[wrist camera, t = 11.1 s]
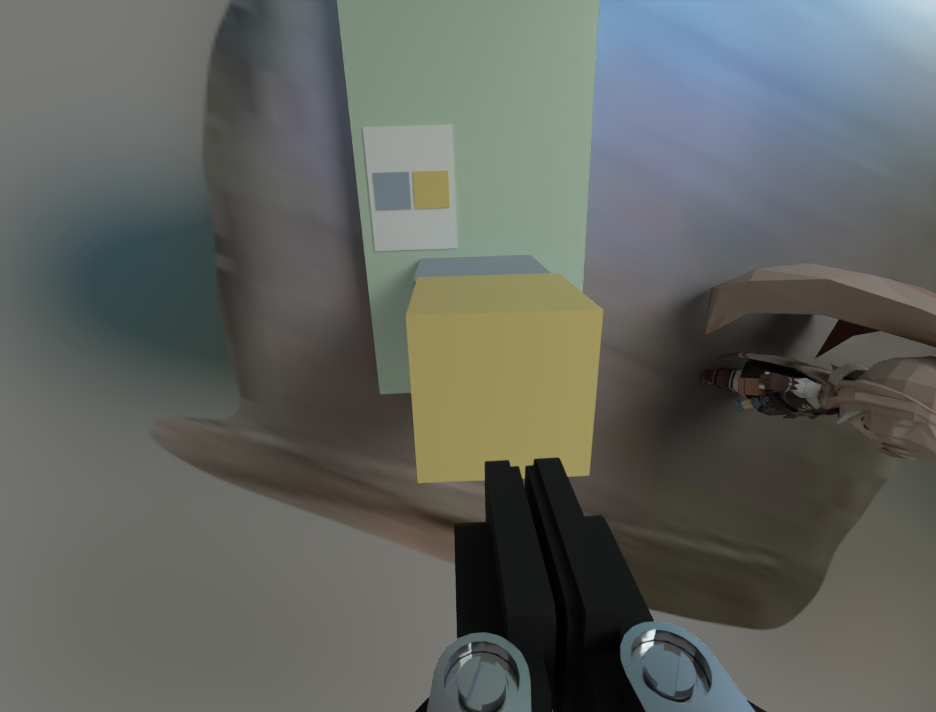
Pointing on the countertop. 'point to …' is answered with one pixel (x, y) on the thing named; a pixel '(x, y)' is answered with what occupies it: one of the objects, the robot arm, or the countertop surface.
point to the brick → (501, 373)
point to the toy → (847, 387)
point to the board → (466, 141)
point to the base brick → (478, 266)
